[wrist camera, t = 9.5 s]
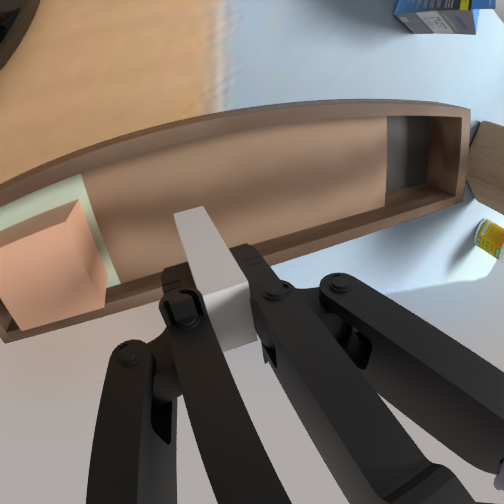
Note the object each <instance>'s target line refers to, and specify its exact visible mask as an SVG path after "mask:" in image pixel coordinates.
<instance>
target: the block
mask: <svg viewBox="0 0 504 504" xmlns="http://www.w3.org/2000/svg"><path fill="white" fill-rule="evenodd" d="M466 180H467V182H468V184H469V186H470V188H471V191H472V193H473V195H474V197H475V199H476V200H477V201H478V202H480V203H482V204H484V205H486V206H488V207H490V208H492V209H494V210H495V211H497V212H499V213H501V214H503V215H504V126H501V125H498V124H494V123H491V122H488V121H482V122H481V123H480V126H479V128H478V130H477V133H476V135H475V137H474V139H473V142H472V144H471V146H470V148H469V153H468V164H467V173H466Z"/></svg>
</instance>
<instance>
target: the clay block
mask: <svg viewBox="0 0 504 504" xmlns="http://www.w3.org/2000/svg"><path fill="white" fill-rule="evenodd" d="M107 277H108V273H107V271H106V268H105V266H104V264H103V261H102V259H101V257H100V254H99V252H98V249H97V247H96V244H95V242H94V239H93V237H92V234H91V231H90V229H89V226H88V223H87V220H86V218H85V215H84V212H83V209H82V206H81V203H80V200H79V199H77V200H74V201H72V202H69V203H66V204H64V205H61V206H58V207H56V208H53V209H51V210H48V211H46V212H43V213H41V214H38V215H36V216H33V217H31V218H28V219H26V220H24V221H21V222H19V223H17V224H15V225H12V226H10V227H8V228H6V229H4V230H1V231H0V298H1V300H2V301H3V303H4V305H5V306H6V308H7V309H8V311H9V313H10V314H11V316H12V317H13V319H14V320H15V322H16V323H17V325H18V326H19V328H20V329H21V331H24V330H28V329H31V328H35V327H38V326H42V325H45V324H49V323H52V322H56V321H59V320H63V319H66V318H70V317H73V316H77V315H80V314H83V313H87V312H90V311H94V310H97V309H101V308H104V306H105V295H106V285H107Z"/></svg>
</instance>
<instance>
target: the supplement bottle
mask: <svg viewBox="0 0 504 504" xmlns="http://www.w3.org/2000/svg"><path fill="white" fill-rule="evenodd" d="M474 243H475V244H476V245H477V246H478V247H480V248H481V249H483V250H485V251H486V252H488V253H489V254H491V255H492V256H494V257H495V258H497V259H498V260H500V261H502V262H504V229H503V228H502V227H500V226H498V225H497V224H495V223H493V222H491V221H490V220H488V219H483V220H482V221H481V222H480V223H479V225H478V227H477V229H476V232H475V236H474Z"/></svg>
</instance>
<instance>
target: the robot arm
mask: <svg viewBox="0 0 504 504" xmlns="http://www.w3.org/2000/svg"><path fill="white" fill-rule="evenodd" d="M39 3H40V0H0V70H1V69H2V68H3V66H4V65H5V64H6V62H7V61H8V60H9V59H10V57H11V56H12V54H13V53H14V51H15V50H16V48H17V47H18V45H19V44H20V42H21V41H22V39H23V37H24V35H25V34H26V32H27V30H28V28H29V26H30V24H31V22H32V20H33V18H34V16H35V13H36V11H37V8H38V5H39ZM173 215H174V219H175V223H176V227H177V230H178V234H179V238H180V241H181V245H182V249H183V252H184V256H185V260H186V262H184V263H180V264H177V265H174V266H170V267H167V268H164V270H163V272H162V274H161V283H162V289H163V294H164V296H163V297H162V299H161V300H160V302H159V310H160V312H161V314H162V317H163V319H164V321H165V324H166V326H167V327H166V328H165V330H164V332H163V333H162V334H161V335H160V336H159V337H157V338H156V339H154V340H152V341H151V342H149V343H147V344H146V343H145V342H143V341H141V340H129V341H125V342H123V343H121V344H120V345H118V346H117V347H116V348H115V349H114V351H113V352H112V355H111V356H110V360H109V364H108V368H107V372H106V377H105V381H104V386H103V391H102V395H101V400H100V405H99V410H98V415H97V421H96V426H95V432H94V439H93V445H92V452H91V459H90V468H89V476H88V486H87V497H86V504H177V476H176V434H177V431H176V430H177V397H179V396H180V395H182V394H183V397H184V401H185V404H186V408H187V411H188V415H189V419H190V422H191V426H192V429H193V432H194V435H195V439H196V442H197V445H198V448H199V451H200V454H201V458H202V460H203V464H204V467H205V469H206V472H207V475H208V478H209V480H210V484H211V486H212V489H213V492H214V494H215V497H216V500H217V502H218V504H292V503H291V501H290V499H289V497H288V495H287V493H286V491H285V490H284V487H283V486H282V484H281V482H280V480H279V478H278V476H277V474H276V472H275V470H274V468H273V466H272V463H271V461H270V459H269V457H268V455H267V453H266V451H265V449H264V447H263V445H262V443H261V440H260V438H259V436H258V434H257V432H256V429H255V427H254V425H253V423H252V421H251V419H250V416H249V414H248V412H247V409H246V407H245V405H244V402H243V400H242V398H241V396H240V393H239V391H238V389H237V386H236V384H235V381H234V379H233V377H232V374H231V372H230V369H229V367H228V364H227V362H226V360H225V357H224V354H223V352H225V351H228V350H230V349H234V348H237V347H240V346H242V345H246V344H248V343H251V342H254V341H257V334H258V336H259V338H260V340H261V343H262V349H263V357H264V362H265V364H266V363H267V362H268V361H269V363H270V365H271V367H272V369H273V371H274V373H275V374H276V376H277V378H278V380H279V382H280V384H281V385H282V387H283V389H284V391H285V393H286V394H287V397H288V398H289V400H290V402H291V404H292V406H293V407H294V409H295V411H296V412H297V415H298V416H299V418H300V420H301V422H302V423H303V425H304V427H305V429H306V430H307V432H308V434H309V436H310V438H311V439H312V441H313V443H314V444H315V446H316V448H317V450H318V451H319V453H320V455H321V457H322V458H323V460H324V462H325V463H326V465H327V467H328V469H329V470H330V472H331V474H332V475H333V477H334V479H335V480H336V482H337V484H338V485H339V487H340V488H341V490H342V492H343V494H344V495H345V497H346V498H347V500H348V502H349V503H350V504H493V503H481V502H475V501H474V499H473V498H472V497H471V495H470V494H469V493H468V491H467V490H466V489H465V487H464V486H463V485H462V483H461V482H460V481H459V479H458V478H457V477H456V475H455V474H454V473H453V472H452V471H451V470H450V469H448V468H447V467H445V466H443V465H440V464H435V463H432V462H430V461H429V460H428V459H427V458H426V457H425V456H424V455H423V453H422V452H421V450H419V448H418V447H417V445H416V444H415V443H414V441H413V440H412V439H411V437H410V436H409V435H408V434H407V432H406V431H405V429H404V428H403V427H402V425H401V424H400V423H399V421H398V420H397V419H396V417H395V416H394V415H393V413H392V412H391V411H390V410H389V408H388V407H387V406H386V404H385V403H384V402H383V401H382V399H381V398H380V396H382V397H383V398H384V399H386V400H387V401H388V402H389V403H390V404H392V405H393V406H394V407H396V408H397V409H398V410H399V411H401V412H402V413H403V414H404V415H406V416H407V417H408V418H410V419H411V420H412V421H413V422H415V423H416V424H417V425H419V426H420V427H421V428H423V429H424V430H425V431H426V432H428V433H429V434H430V435H432V436H433V437H434V438H436V439H437V440H438V441H440V442H441V443H442V444H444V445H445V446H446V447H447V448H449V449H450V450H451V451H453V452H454V453H455V454H457V455H458V456H460V457H461V458H462V459H464V460H465V461H466V462H468V463H470V464H471V465H473V466H474V467H476V468H478V469H480V470H483V471H485V472H488V473H491V474H495V475H497V476H496V478H495V479H494V487H495V488H496V489H497V490H502V489H503V490H504V372H502V371H501V370H499V369H498V368H496V367H495V366H493V365H492V364H491V363H489V362H487V361H486V360H484V359H483V358H481V357H480V356H478V355H477V354H476V353H474V352H472V351H471V350H470V349H468V348H466V347H465V346H463V345H462V344H460V343H459V342H457V341H456V340H454V339H453V338H451V337H450V336H448V335H446V334H445V333H443V332H442V331H440V330H439V329H437V328H436V327H434V326H432V325H431V324H429V323H428V322H426V321H424V320H423V319H421V318H420V317H418V316H417V315H415V314H414V313H412V312H410V311H409V310H407V309H405V308H404V307H402V306H401V305H399V304H397V303H396V302H394V301H393V300H391V299H389V298H388V297H386V296H385V295H383V294H381V293H380V292H378V291H376V290H375V289H373V288H371V287H370V286H368V285H366V284H365V283H363V282H362V281H360V280H358V279H357V278H355V277H353V276H351V275H349V274H345V273H332V274H329V275H327V276H325V277H324V278H323V279H322V280H321V282H320V285H319V287H317V288H308V289H297V288H295V287H294V286H293V285H292V284H290V283H289V282H286V281H283V280H280V279H279V278H278V277H277V275H276V274H275V273H274V271H273V270H272V269H271V267H270V266H269V265H268V263H267V262H266V261H265V259H264V258H263V257H262V256H261V254H260V253H259V252H258V250H257V249H256V248H255V247H253V246H251V245H249V244H247V243H245V244H242V245H238V246H235V247H232V248H228V247H227V246H226V244H225V242H224V240H223V239H222V237H221V235H220V234H219V232H218V230H217V229H216V227H215V225H214V224H213V222H212V220H211V219H210V217H209V215H208V213H207V212H206V210H205V208H204V207H203V206H200V207H196V208H193V209H189V210H185V211H182V212H178V213H175V214H173ZM256 332H257V333H256ZM376 392H377V393H378V394H379V395H380V396H379V395H378V394H377V393H376Z"/></svg>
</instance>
